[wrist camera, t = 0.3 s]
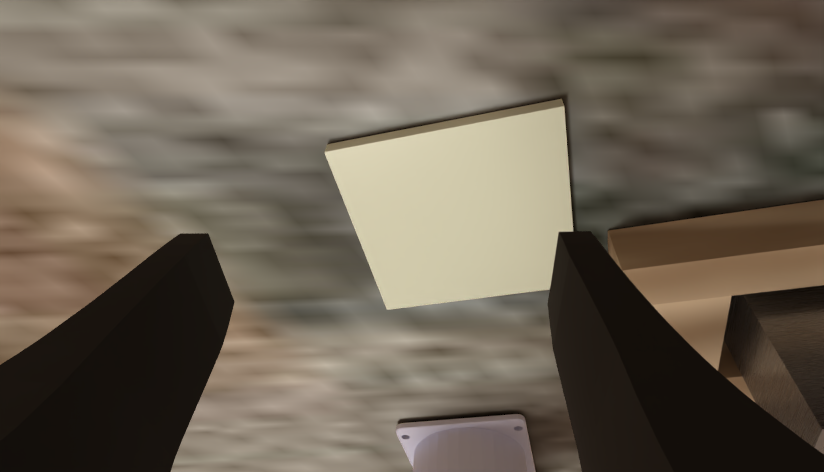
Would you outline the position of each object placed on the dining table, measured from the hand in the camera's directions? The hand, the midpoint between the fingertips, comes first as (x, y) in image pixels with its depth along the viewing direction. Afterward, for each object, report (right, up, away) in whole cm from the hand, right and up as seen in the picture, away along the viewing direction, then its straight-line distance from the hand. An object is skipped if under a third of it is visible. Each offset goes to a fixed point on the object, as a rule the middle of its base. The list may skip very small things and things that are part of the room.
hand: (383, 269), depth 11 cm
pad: (+3, +2, +12) cm, 12 cm away
